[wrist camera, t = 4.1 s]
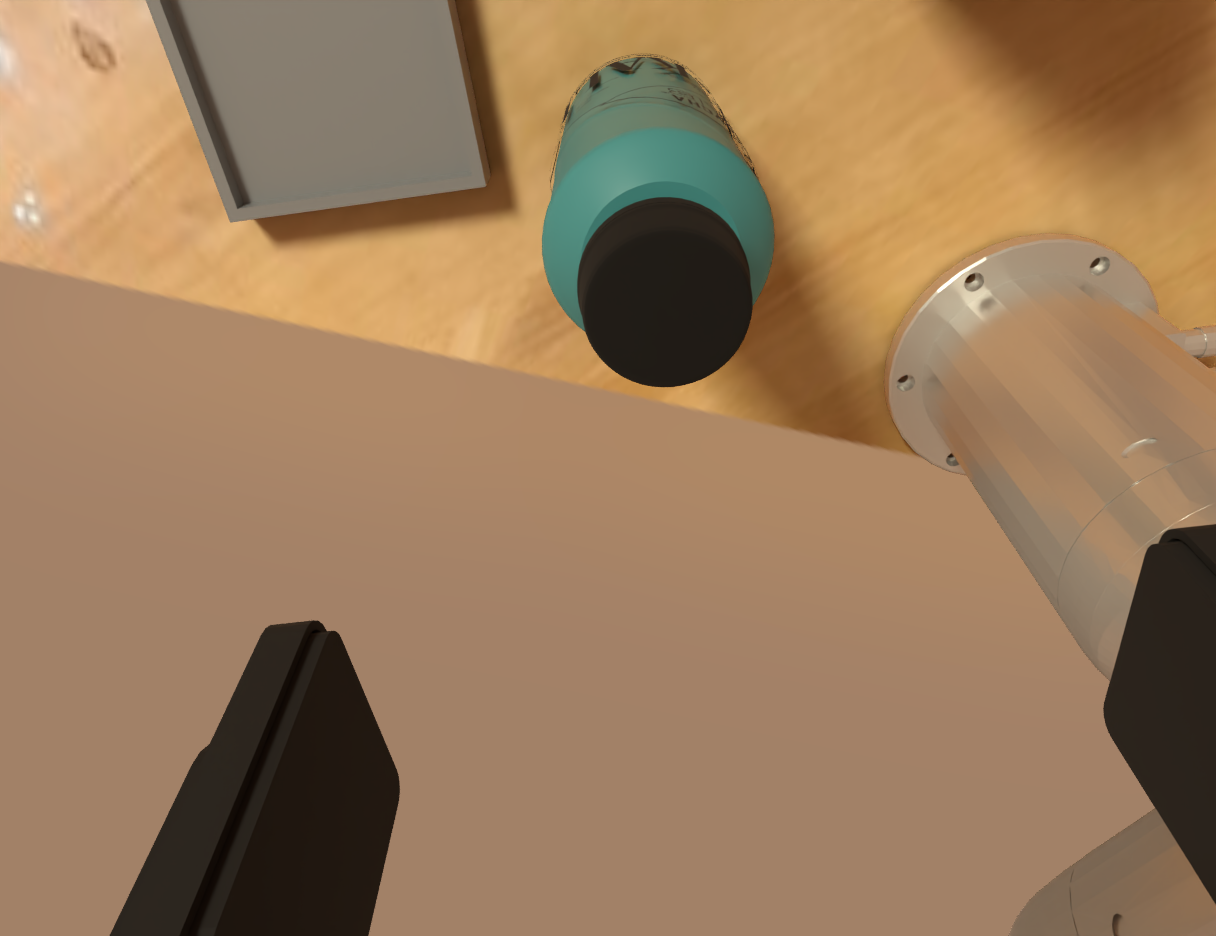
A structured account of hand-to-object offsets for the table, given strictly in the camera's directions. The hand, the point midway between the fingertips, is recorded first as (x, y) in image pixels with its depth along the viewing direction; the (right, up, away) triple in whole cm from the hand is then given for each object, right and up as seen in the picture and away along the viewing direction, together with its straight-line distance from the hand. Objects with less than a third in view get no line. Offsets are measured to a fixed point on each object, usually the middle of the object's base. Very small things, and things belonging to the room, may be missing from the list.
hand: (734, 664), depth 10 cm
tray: (-13, +19, +24) cm, 33 cm away
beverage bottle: (0, +17, +26) cm, 31 cm away
